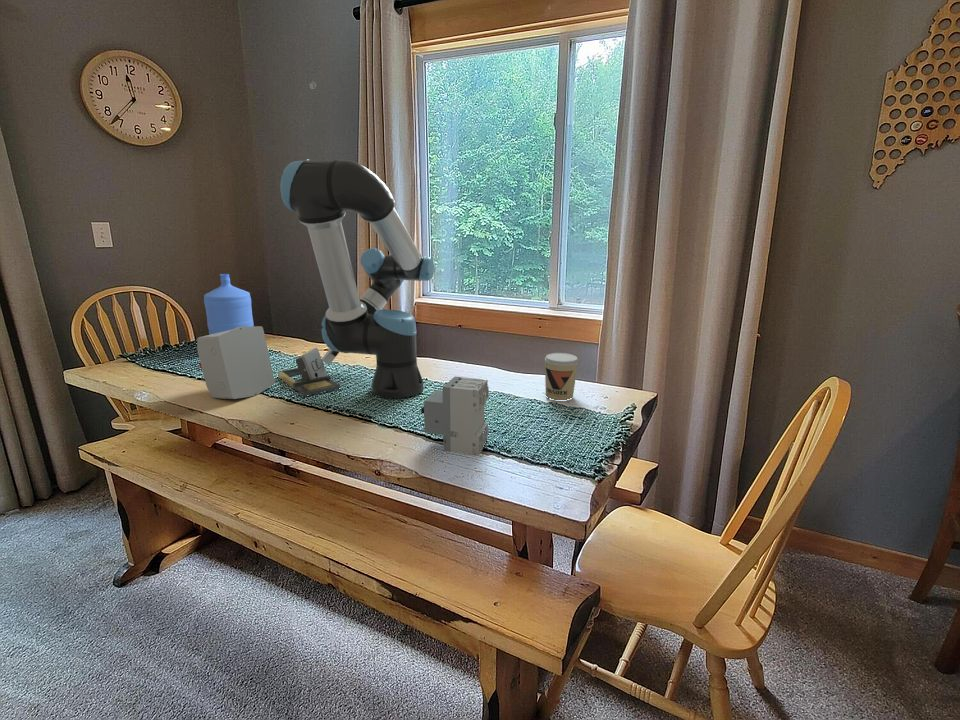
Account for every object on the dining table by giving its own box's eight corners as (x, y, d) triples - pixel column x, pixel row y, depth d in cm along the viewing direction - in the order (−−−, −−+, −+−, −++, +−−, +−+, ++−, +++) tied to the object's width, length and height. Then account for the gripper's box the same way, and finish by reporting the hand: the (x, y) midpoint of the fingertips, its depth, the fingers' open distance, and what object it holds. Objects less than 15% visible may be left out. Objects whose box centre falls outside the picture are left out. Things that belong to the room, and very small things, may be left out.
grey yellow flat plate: (340, 389, 149) (340, 382, 149) (304, 397, 143) (303, 390, 142) (312, 371, 166) (312, 365, 165) (278, 377, 159) (277, 371, 158)
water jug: (246, 354, 184) (236, 277, 176) (203, 353, 184) (191, 276, 176) (263, 343, 199) (255, 272, 191) (223, 343, 199) (213, 271, 191)
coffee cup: (539, 400, 142) (541, 359, 139) (547, 389, 151) (549, 351, 147) (572, 404, 139) (574, 363, 136) (578, 394, 147) (581, 354, 144)
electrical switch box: (242, 387, 156) (227, 323, 152) (276, 387, 150) (261, 321, 145) (199, 402, 144) (181, 333, 139) (233, 403, 137) (216, 331, 133)
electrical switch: (314, 384, 153) (308, 355, 150) (298, 385, 154) (292, 355, 151) (327, 375, 162) (322, 347, 159) (312, 375, 163) (307, 347, 160)
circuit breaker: (430, 433, 120) (429, 373, 116) (487, 441, 116) (488, 379, 112) (417, 446, 113) (416, 383, 109) (478, 455, 110) (479, 390, 105)
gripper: (386, 315, 163) (341, 374, 158) (368, 309, 173) (325, 364, 168) (371, 301, 159) (324, 360, 153) (353, 295, 168) (308, 351, 163)
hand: (325, 362), depth 161 cm, fingers closed
